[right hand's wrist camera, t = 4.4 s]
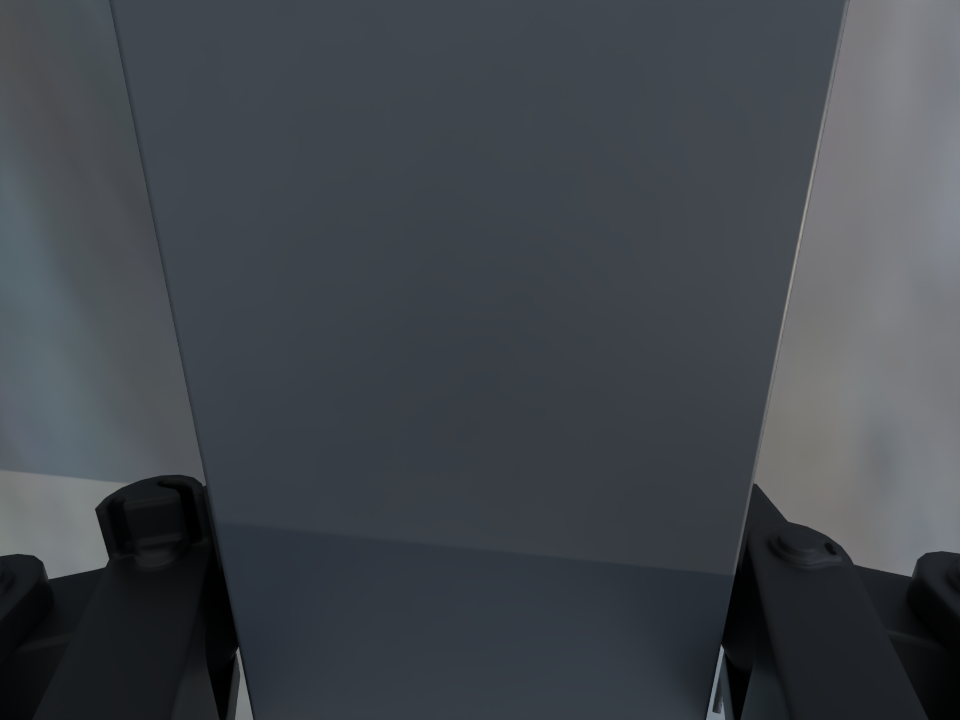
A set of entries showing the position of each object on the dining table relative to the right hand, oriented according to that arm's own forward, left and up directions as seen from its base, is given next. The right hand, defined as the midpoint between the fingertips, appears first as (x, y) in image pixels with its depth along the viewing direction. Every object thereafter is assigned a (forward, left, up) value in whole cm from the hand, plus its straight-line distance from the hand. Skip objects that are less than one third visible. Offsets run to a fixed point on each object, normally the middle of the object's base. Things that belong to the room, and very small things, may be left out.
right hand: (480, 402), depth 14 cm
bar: (+4, +8, -1) cm, 9 cm away
